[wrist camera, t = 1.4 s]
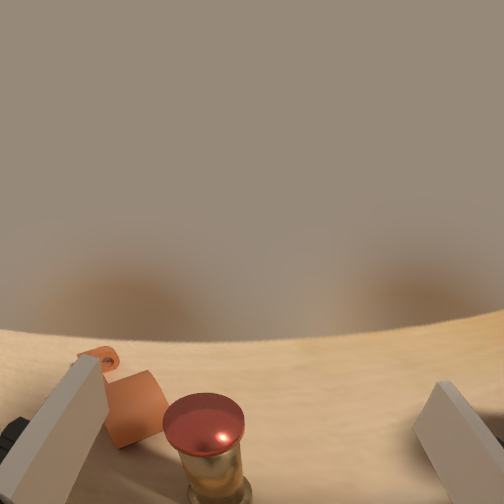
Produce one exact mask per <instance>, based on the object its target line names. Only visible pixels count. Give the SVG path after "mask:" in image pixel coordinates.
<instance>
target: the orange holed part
mask: <svg viewBox="0 0 504 504" xmlns="http://www.w3.org/2000/svg"><path fill="white" fill-rule="evenodd" d="M82 354H86V355H90V356H94V357H98V358H100V361H101V367H102V373H105V372H108V371H111V370H114V369H116V368H117V367H118V365H119V361H120V360H119V357H118V355H117V353H116V352H115V350H114V349H113V348H111V347H109V346H102V347H99V348H96V349H93V350H89V351H86V352H83V353H80V354H77V357H78V358H79V357H80V356H81V355H82ZM107 357H110V360H109V361H107V362H103V360H104V359H105V358H107ZM103 380H104V386H105V391H106V397H107V402H108V407H109V413H108V415H107V417H106V419H105V421H104V424H105V426H106V429H107V431H108V433H109V435H110V436H111V438H112V440H113V442H114V444H115V446H116V448H117V449H119V448H122V447H124V446H127V445H130V444H132V443H135V442H137V441H140V440H142V439H145V438H147V437H150V436H152V435H155V434H157V433H159V432H162V431H164V430H163V425H162V421H163V416H164V414H165V412H166V410H167V409H168V408H169V405H168V402H167V400H166V398H165V396H164V394H163V392H162V390H161V388H160V387H159V385H158V383H157V382H156V380H155V378H154V377H153V376H152V374H151V373H150V372H149V371H148V370H146V371H143V372H140V373H138V374H135V375H132V376H129V377H126V378H124V379H121V380H118V381H115V382H112V383H109V384H108V383H107V381H106V379H105V377H104V375H103Z"/></svg>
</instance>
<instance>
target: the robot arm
mask: <svg viewBox="0 0 504 504" xmlns="http://www.w3.org/2000/svg"><path fill="white" fill-rule="evenodd" d="M108 413H109V407H108V402H107V397H106V391H105V386H104V380H103V374H102V367H101V361H100V358H98V357H94V356H90V355H86V354H82V355H81V356H80V357H79V358H78V359H77V361H76V362H75V363H74V365H73V366H72V367H71V368H70V370H69V371H68V372H67V373H66V375H65V376H64V377H63V379H62V380H61V381H60V382H59V384H58V385H57V386H56V388H55V389H54V390H53V392H52V393H51V394H50V395H49V397H48V398H47V399H46V401H45V402H44V403H43V405H42V406H41V407H40V409H39V410H38V412H37V413H36V414H35V416H34V417H33V418H32V420H31V421H29V420H27V419H24V418H22V417H19V418H17V419H16V420H14V421H12V422H11V423H9V424H8V425H7V427H6V428H5V429H4V430H3V432H2V433H1V436H0V504H65V503H66V501H67V499H68V496H69V494H70V492H71V490H72V487H73V485H74V483H75V481H76V479H77V477H78V474H79V472H80V470H81V468H82V466H83V464H84V462H85V460H86V457H87V455H88V453H89V451H90V449H91V447H92V445H93V443H94V441H95V439H96V437H97V435H98V433H99V431H100V429H101V427H102V425H103V423H104V421H105V419H106V417H107V415H108ZM412 429H413V430H414V432H415V434H416V436H417V438H418V439H419V441H420V443H421V445H422V447H423V448H424V450H425V452H426V454H427V456H428V458H429V460H430V461H431V463H432V465H433V467H434V469H435V471H436V473H437V475H438V477H439V479H440V480H441V482H442V484H443V486H444V488H445V490H446V492H447V494H448V496H449V498H450V500H451V502H452V504H504V442H502V441H501V440H500V439H498V438H497V437H496V438H495V436H494V435H493V434H492V433H491V431H490V430H489V429H488V427H487V426H486V425H485V423H484V422H483V421H482V420H481V418H480V417H479V416H478V414H477V413H476V412H475V411H474V409H473V408H472V407H471V406H470V404H469V403H468V402H467V401H466V399H465V398H464V397H463V396H462V394H461V393H460V392H459V391H458V390H457V388H456V387H455V386H454V385H453V383H452V382H451V381H450V380H449V381H440V382H437V383H436V385H435V387H434V389H433V391H432V393H431V395H430V397H429V399H428V401H427V403H426V405H425V407H424V409H423V410H422V412H421V414H420V416H419V418H418V420H417V421H416V423H415V425H414V427H413V428H412Z"/></svg>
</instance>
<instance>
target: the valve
mask: <svg viewBox="0 0 504 504" xmlns="http://www.w3.org/2000/svg"><path fill="white" fill-rule="evenodd" d="M162 425H163V430H164V433H165V436H166V438H167V440H168V442H169V443H170V444H171V446H173V447H174V448H175V449H176V450H178V453H179V456H180V458H181V461H182V464H183V467H184V469H185V472H186V474H187V477H188V480H189V482H190V485H189V489H188V496H189V500H190V502H191V504H251V503H252V489H251V486H250V483H249V482H248V480H247V479H246V478H245V477H244V476H243V471H242V461H241V452H240V442H239V441H240V440H241V438H242V436H243V434H244V430H245V423H244V415H243V412H242V410H241V408H240V407H239V406H238V404H237V403H235V402H234V401H233V400H231V399H230V398H228V397H225V396H223V395H219V394H214V393H197V394H192V395H188V396H185V397H183V398H180V399H179V400H177V401H175V402H174V403H173V404H172V405H171V406H169V408H168V409H167V410H166V412H165V414H164V416H163V421H162Z"/></svg>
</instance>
